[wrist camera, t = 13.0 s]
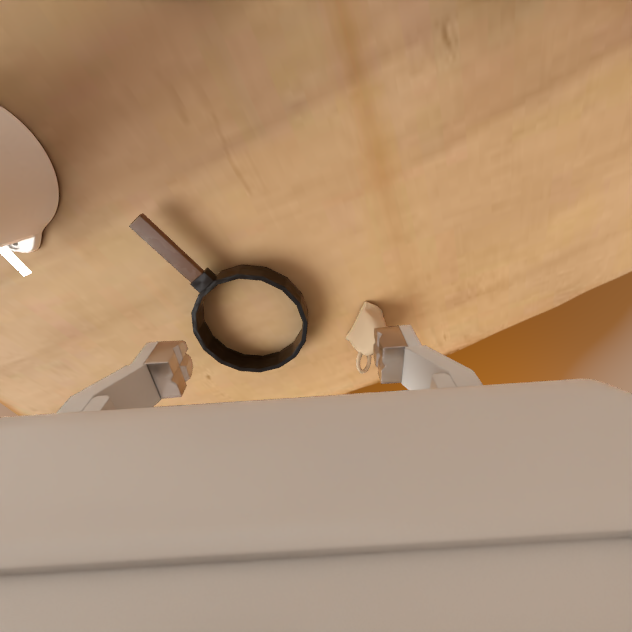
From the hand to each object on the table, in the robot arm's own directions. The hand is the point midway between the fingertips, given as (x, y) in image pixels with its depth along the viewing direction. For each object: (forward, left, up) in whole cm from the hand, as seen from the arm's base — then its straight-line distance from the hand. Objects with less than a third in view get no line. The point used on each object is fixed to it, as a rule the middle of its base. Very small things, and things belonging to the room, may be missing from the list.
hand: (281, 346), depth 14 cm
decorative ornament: (+8, -17, -28) cm, 34 cm away
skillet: (-11, -10, -28) cm, 32 cm away
